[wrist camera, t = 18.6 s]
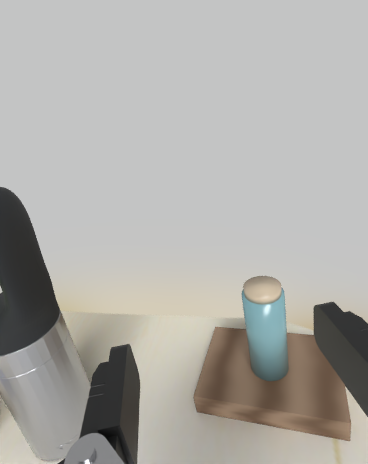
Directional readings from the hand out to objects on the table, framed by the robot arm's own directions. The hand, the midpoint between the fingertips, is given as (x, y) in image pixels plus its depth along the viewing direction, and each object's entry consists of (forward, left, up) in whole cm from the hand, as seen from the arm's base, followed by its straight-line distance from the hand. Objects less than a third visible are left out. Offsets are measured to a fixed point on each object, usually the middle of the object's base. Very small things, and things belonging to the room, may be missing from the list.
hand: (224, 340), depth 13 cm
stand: (-12, +18, -28) cm, 35 cm away
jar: (-12, +18, -25) cm, 33 cm away
